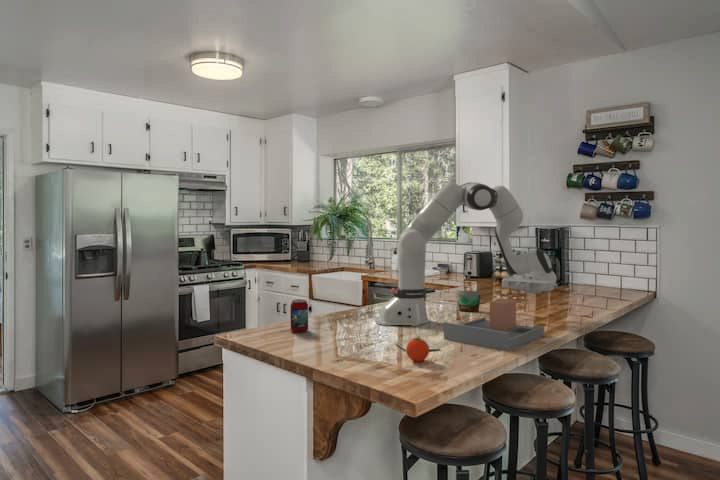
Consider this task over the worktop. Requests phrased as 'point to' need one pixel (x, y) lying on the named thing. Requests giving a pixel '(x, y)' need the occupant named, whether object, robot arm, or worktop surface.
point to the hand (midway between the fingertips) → (519, 286)
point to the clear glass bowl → (424, 340)
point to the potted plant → (468, 300)
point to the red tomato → (417, 349)
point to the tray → (491, 334)
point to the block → (502, 314)
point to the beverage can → (299, 316)
